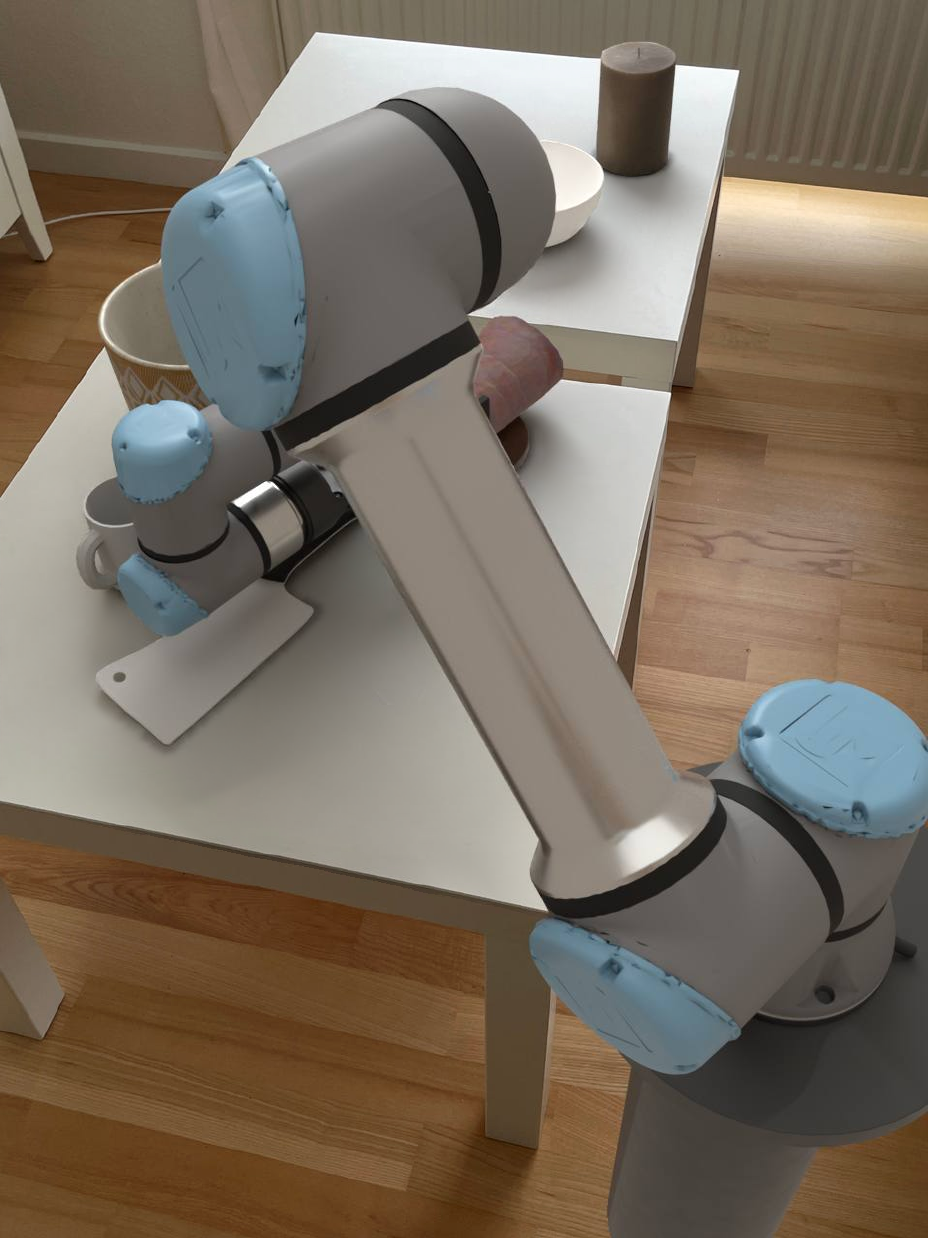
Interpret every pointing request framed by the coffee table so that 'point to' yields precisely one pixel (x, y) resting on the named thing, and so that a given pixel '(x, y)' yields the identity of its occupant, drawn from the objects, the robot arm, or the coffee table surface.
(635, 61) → the pillar candle
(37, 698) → the coffee table surface
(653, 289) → the coffee table surface
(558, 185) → the bowl
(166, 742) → the kitchen cleaver
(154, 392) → the planter
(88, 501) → the cup
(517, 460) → the cake board
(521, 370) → the food
